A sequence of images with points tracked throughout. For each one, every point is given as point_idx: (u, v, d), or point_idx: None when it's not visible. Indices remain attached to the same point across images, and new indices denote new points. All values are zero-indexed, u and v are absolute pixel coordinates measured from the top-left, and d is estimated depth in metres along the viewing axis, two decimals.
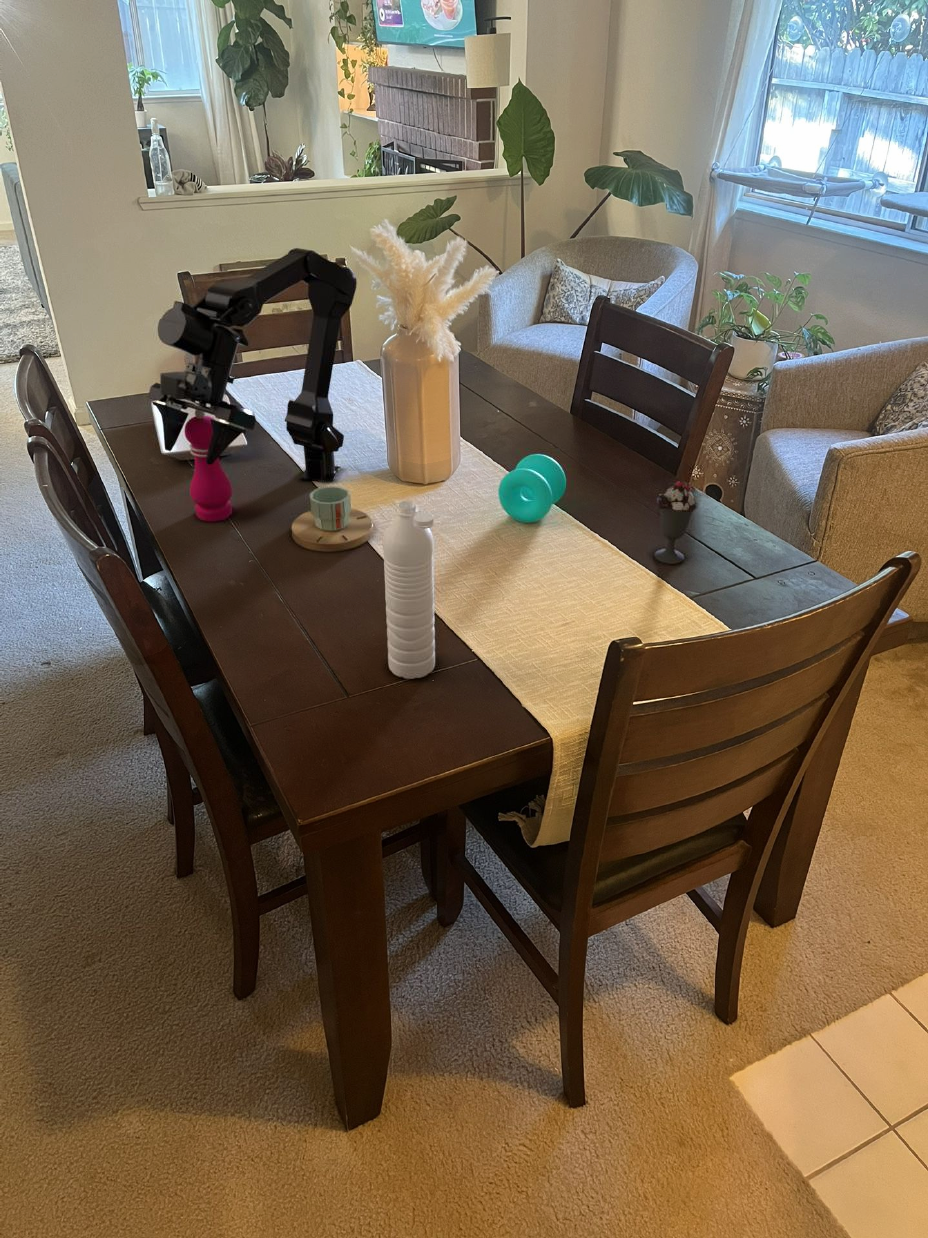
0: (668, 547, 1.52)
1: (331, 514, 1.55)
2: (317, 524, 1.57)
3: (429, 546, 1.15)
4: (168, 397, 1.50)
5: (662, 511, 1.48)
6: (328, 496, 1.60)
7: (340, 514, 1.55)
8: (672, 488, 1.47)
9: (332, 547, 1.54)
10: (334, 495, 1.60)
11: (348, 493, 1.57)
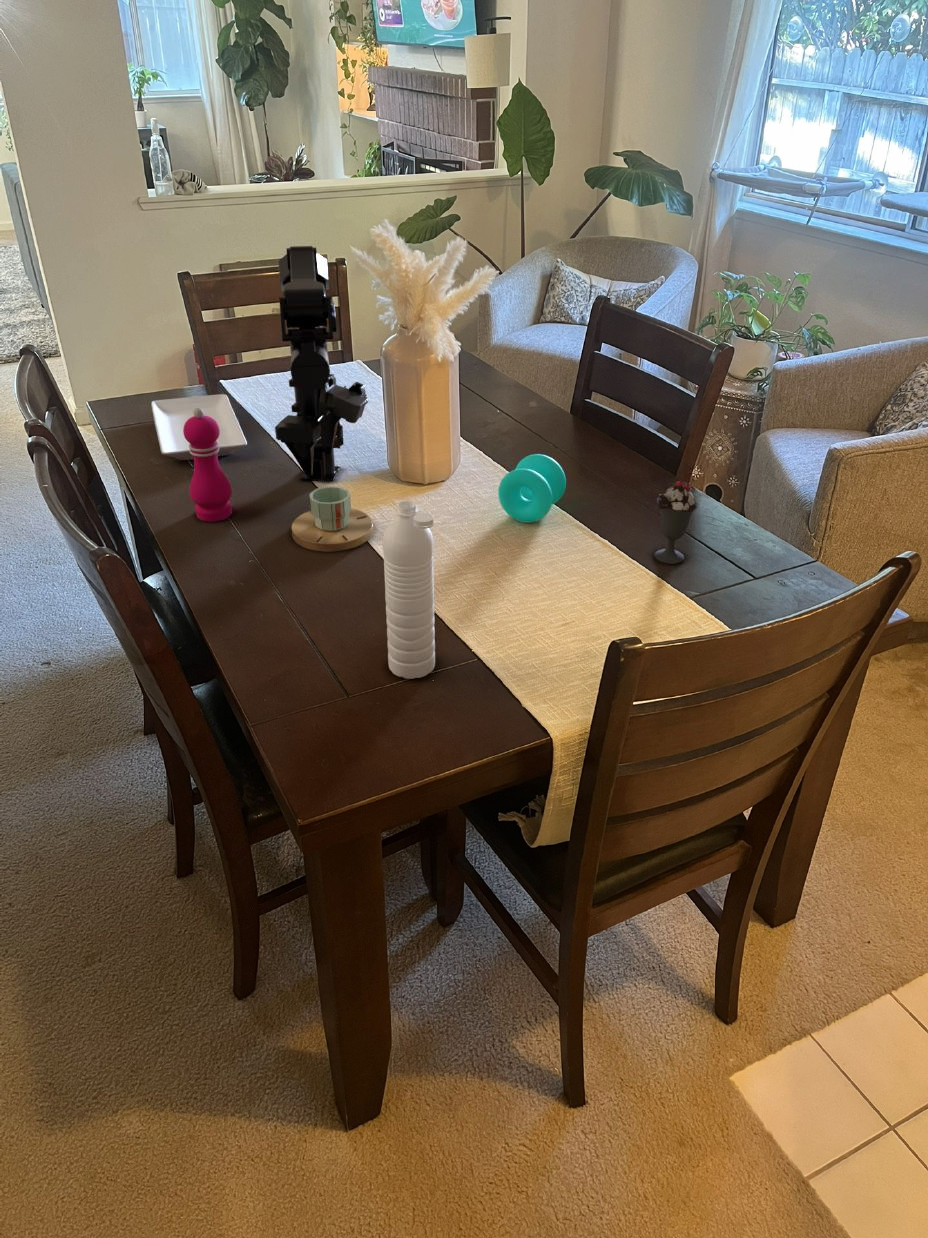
0: (668, 547, 1.52)
1: (331, 514, 1.55)
2: (317, 524, 1.57)
3: (429, 546, 1.15)
4: None
5: (662, 511, 1.48)
6: (328, 496, 1.60)
7: (340, 514, 1.55)
8: (672, 488, 1.47)
9: (332, 547, 1.54)
10: (334, 495, 1.60)
11: (348, 493, 1.57)
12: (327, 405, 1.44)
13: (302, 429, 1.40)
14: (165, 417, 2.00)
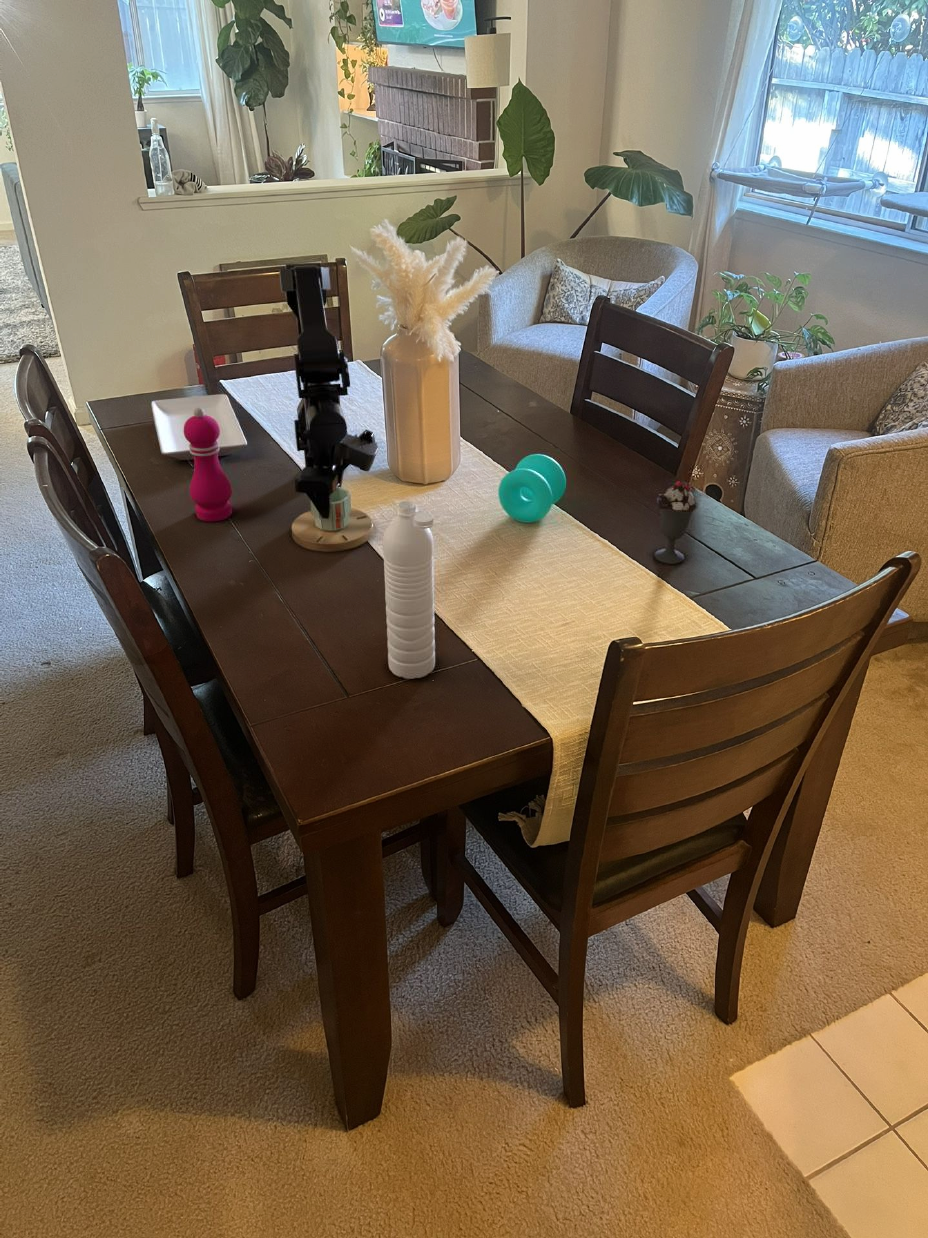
0: (668, 547, 1.52)
1: (331, 514, 1.55)
2: (317, 524, 1.57)
3: (429, 546, 1.15)
4: None
5: (662, 511, 1.48)
6: None
7: (340, 514, 1.55)
8: (672, 488, 1.47)
9: (332, 547, 1.54)
10: (334, 495, 1.60)
11: (348, 493, 1.57)
12: (342, 455, 1.49)
13: (322, 482, 1.45)
14: (165, 417, 2.00)
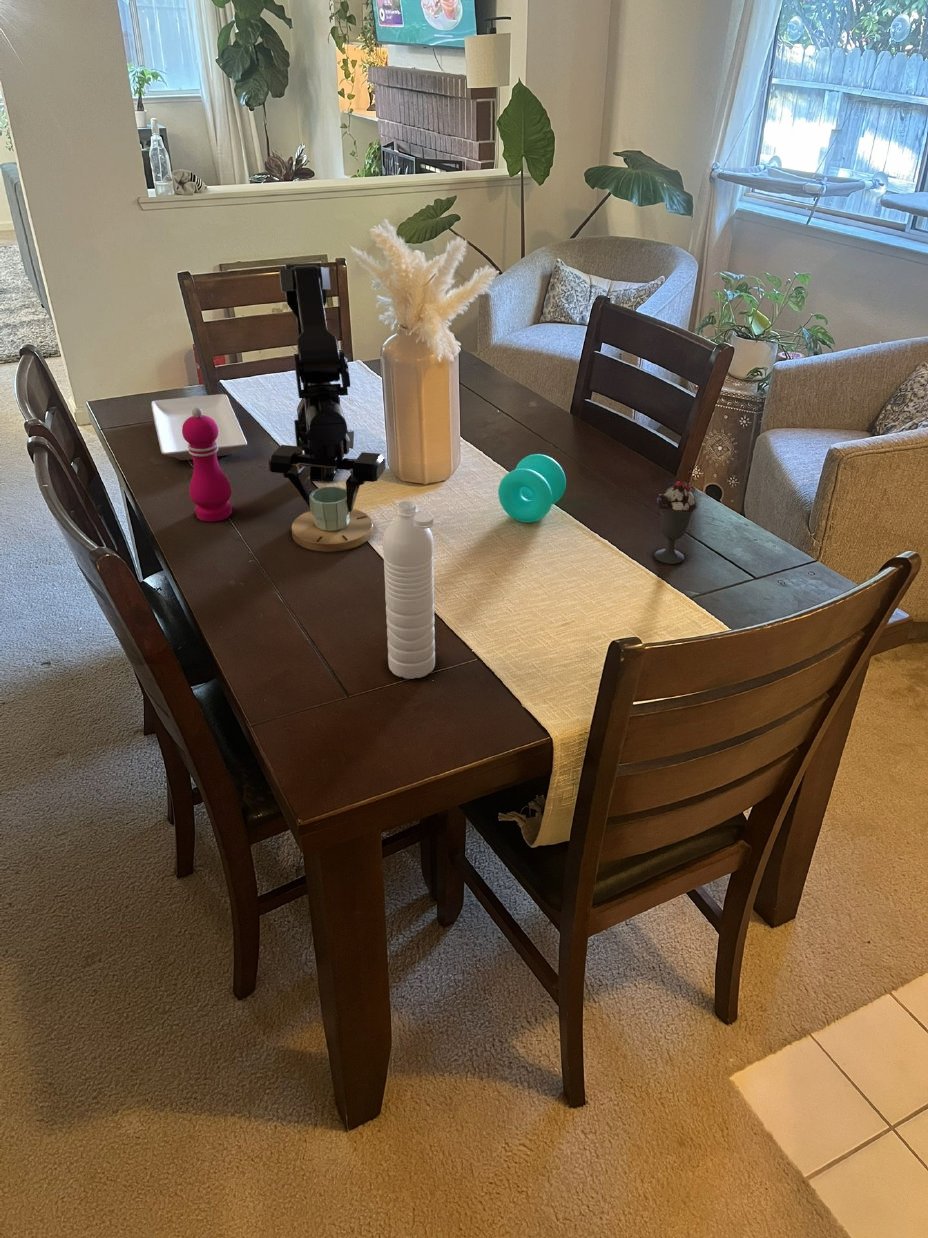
0: (668, 547, 1.52)
1: None
2: (340, 525, 1.57)
3: (429, 546, 1.15)
4: None
5: (662, 511, 1.48)
6: None
7: None
8: (672, 488, 1.47)
9: (332, 547, 1.54)
10: None
11: (330, 486, 1.59)
12: (348, 441, 1.54)
13: (383, 459, 1.53)
14: (165, 417, 2.00)
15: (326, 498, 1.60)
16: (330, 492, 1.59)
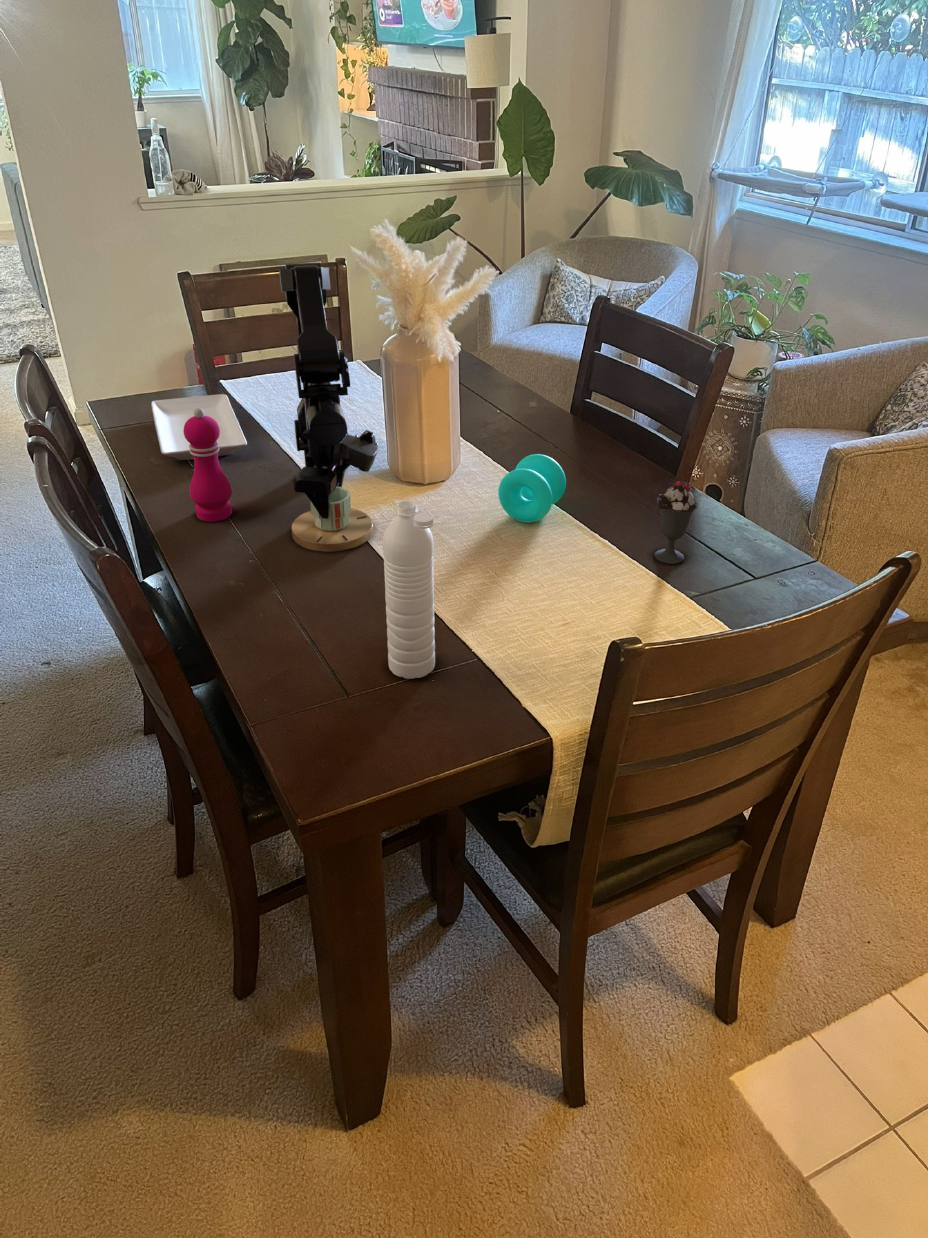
0: (668, 547, 1.52)
1: (330, 514, 1.55)
2: (317, 524, 1.57)
3: (429, 546, 1.15)
4: None
5: (662, 511, 1.48)
6: None
7: (339, 514, 1.55)
8: (672, 488, 1.47)
9: (332, 547, 1.54)
10: (334, 495, 1.60)
11: (348, 493, 1.57)
12: (341, 456, 1.49)
13: (320, 482, 1.45)
14: (165, 417, 2.00)
15: None
16: None
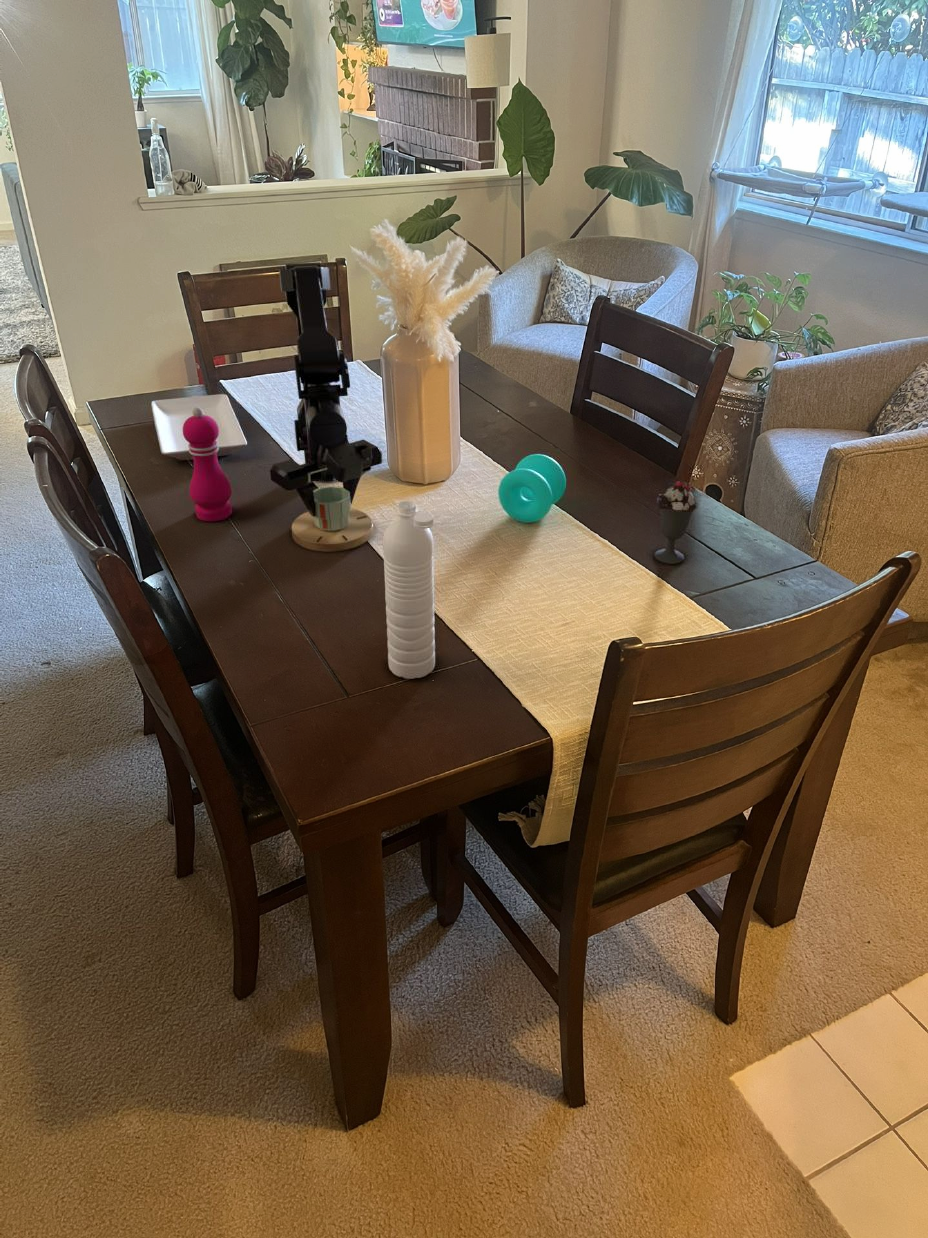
0: (668, 547, 1.52)
1: (316, 512, 1.55)
2: None
3: (429, 546, 1.15)
4: (310, 475, 1.50)
5: (662, 511, 1.48)
6: (341, 496, 1.59)
7: (324, 515, 1.55)
8: (672, 488, 1.47)
9: (332, 547, 1.54)
10: (344, 498, 1.59)
11: (344, 499, 1.55)
12: (322, 459, 1.48)
13: (282, 476, 1.47)
14: (165, 417, 2.00)
15: None
16: None
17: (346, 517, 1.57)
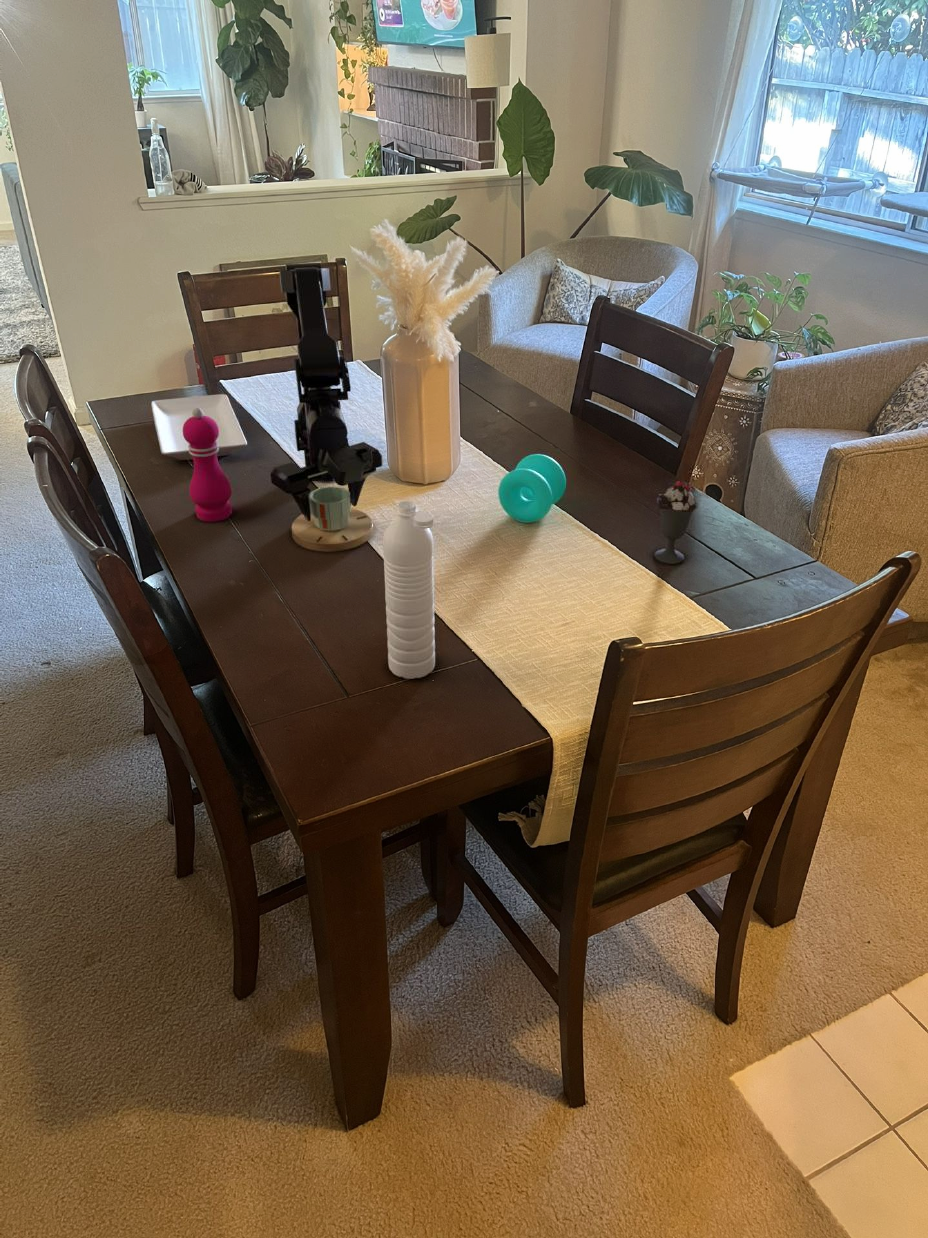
0: (668, 547, 1.52)
1: (316, 512, 1.55)
2: None
3: (429, 546, 1.15)
4: None
5: (662, 511, 1.48)
6: (341, 496, 1.59)
7: (324, 515, 1.55)
8: (672, 488, 1.47)
9: (332, 547, 1.54)
10: (344, 498, 1.59)
11: (344, 499, 1.55)
12: (322, 463, 1.48)
13: (283, 480, 1.47)
14: (165, 417, 2.00)
15: None
16: None
17: (346, 517, 1.57)
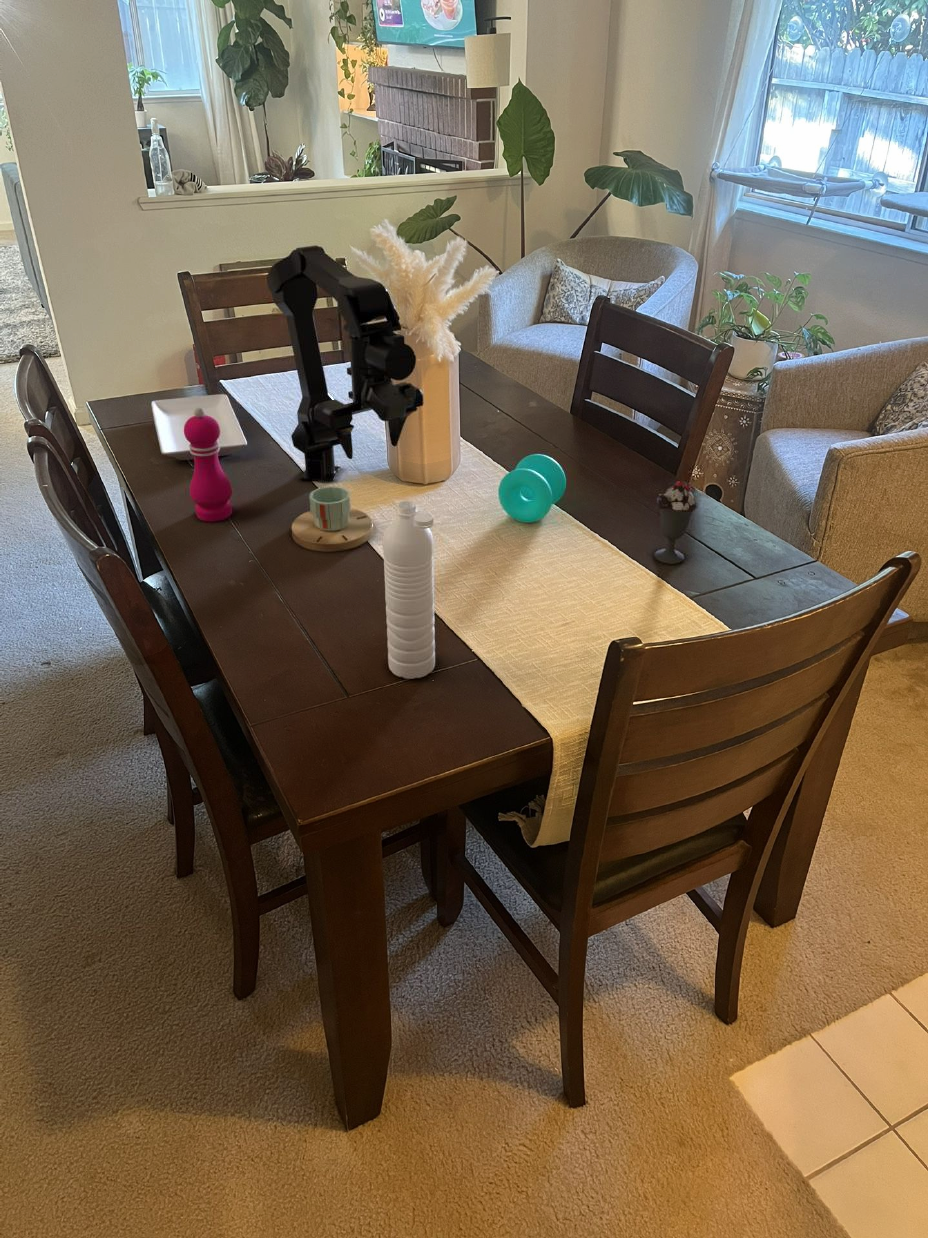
0: (668, 547, 1.52)
1: (316, 512, 1.55)
2: None
3: (429, 546, 1.15)
4: None
5: (662, 511, 1.48)
6: (341, 496, 1.59)
7: (324, 515, 1.55)
8: (672, 488, 1.47)
9: (332, 547, 1.54)
10: (344, 498, 1.59)
11: (344, 499, 1.55)
12: (366, 398, 1.50)
13: (327, 414, 1.49)
14: (165, 417, 2.00)
15: None
16: None
17: (346, 517, 1.57)
